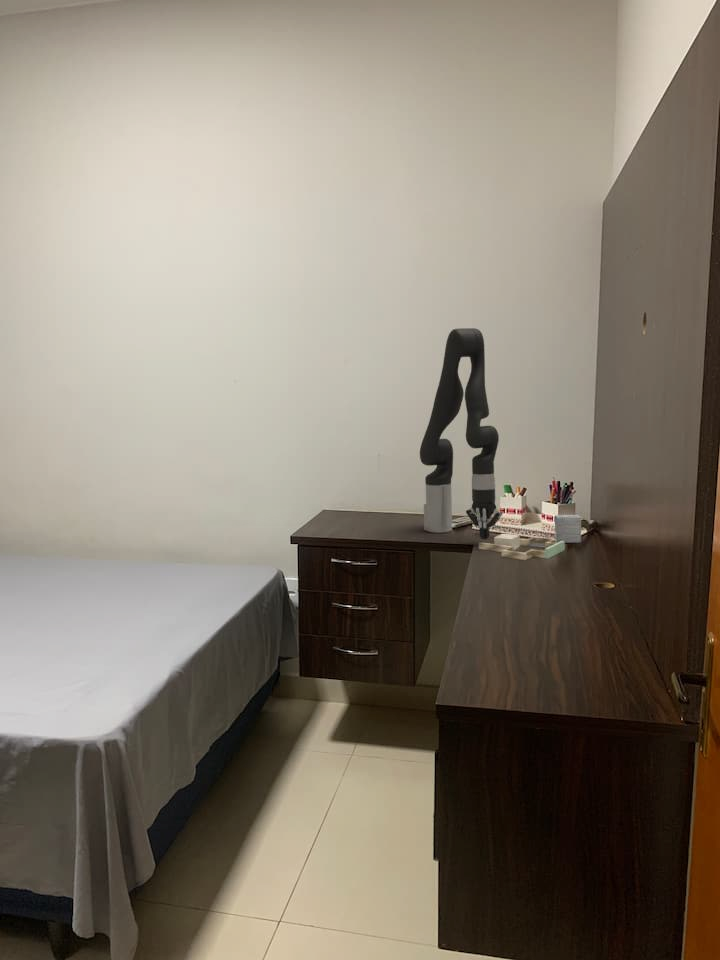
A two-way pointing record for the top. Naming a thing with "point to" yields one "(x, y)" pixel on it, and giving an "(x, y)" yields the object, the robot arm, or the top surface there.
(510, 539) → the ivory block
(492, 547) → the trap track
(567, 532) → the medicine box
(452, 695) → the top surface
